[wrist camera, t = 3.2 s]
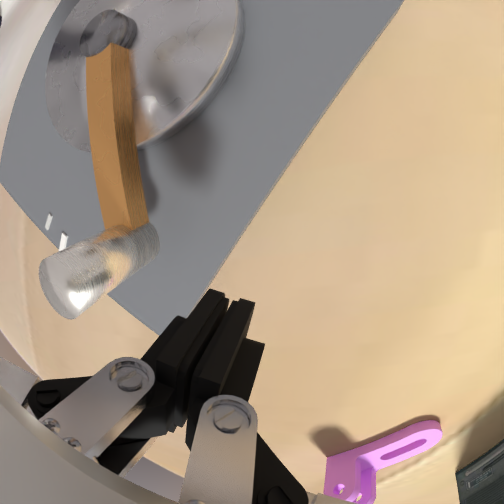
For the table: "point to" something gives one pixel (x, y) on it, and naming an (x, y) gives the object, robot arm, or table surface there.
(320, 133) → the table surface
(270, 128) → the base plate
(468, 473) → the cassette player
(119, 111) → the capstan dial
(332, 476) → the bracket
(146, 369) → the robot arm
